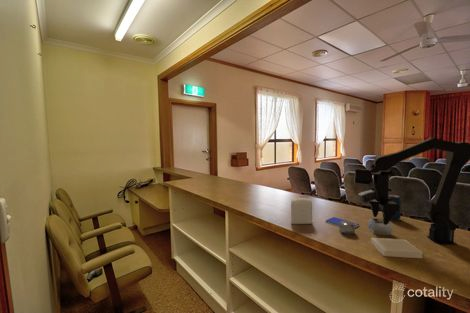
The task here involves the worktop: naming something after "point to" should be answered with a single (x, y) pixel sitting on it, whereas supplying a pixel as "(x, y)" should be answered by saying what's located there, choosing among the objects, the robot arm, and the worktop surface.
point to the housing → (379, 227)
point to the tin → (347, 228)
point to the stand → (396, 248)
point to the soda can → (397, 200)
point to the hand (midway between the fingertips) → (380, 220)
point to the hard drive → (338, 221)
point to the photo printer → (301, 211)
